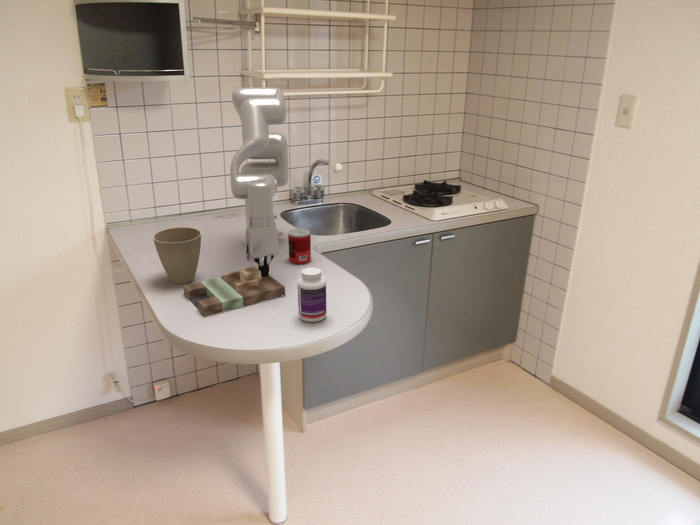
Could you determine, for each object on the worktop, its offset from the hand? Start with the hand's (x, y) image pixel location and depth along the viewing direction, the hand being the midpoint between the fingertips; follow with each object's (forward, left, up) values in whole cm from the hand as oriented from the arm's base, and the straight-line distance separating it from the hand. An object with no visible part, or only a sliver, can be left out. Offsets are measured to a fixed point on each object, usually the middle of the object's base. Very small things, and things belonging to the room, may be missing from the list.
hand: (264, 275), depth 182 cm
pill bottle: (-3, +26, -4) cm, 26 cm away
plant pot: (+20, -20, -4) cm, 29 cm away
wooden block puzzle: (+10, 0, -4) cm, 11 cm away
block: (+5, 0, -1) cm, 5 cm away
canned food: (-21, -14, -4) cm, 25 cm away
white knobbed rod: (-8, -21, -5) cm, 23 cm away
